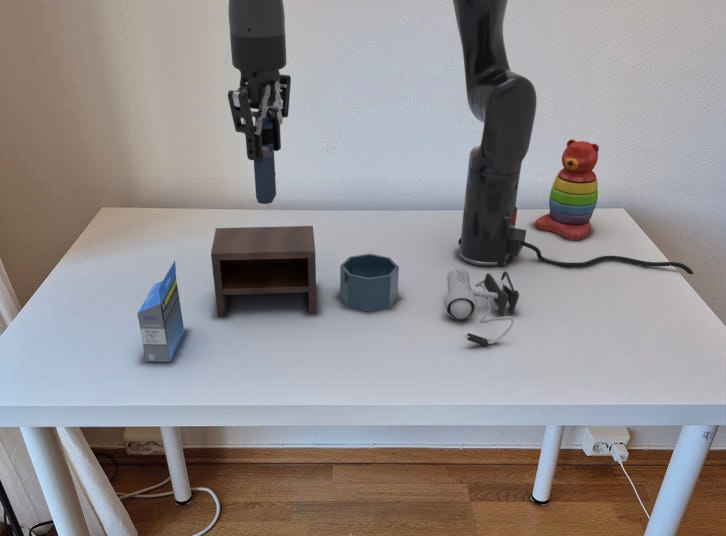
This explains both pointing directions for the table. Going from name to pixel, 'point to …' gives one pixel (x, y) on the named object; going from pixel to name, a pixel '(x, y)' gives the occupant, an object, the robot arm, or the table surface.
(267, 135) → the vaping device
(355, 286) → the pen pot
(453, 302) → the clip-on lamp
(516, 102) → the robot arm
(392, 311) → the table surface
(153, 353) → the blue cardboard box
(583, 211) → the stacking bear
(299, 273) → the block
